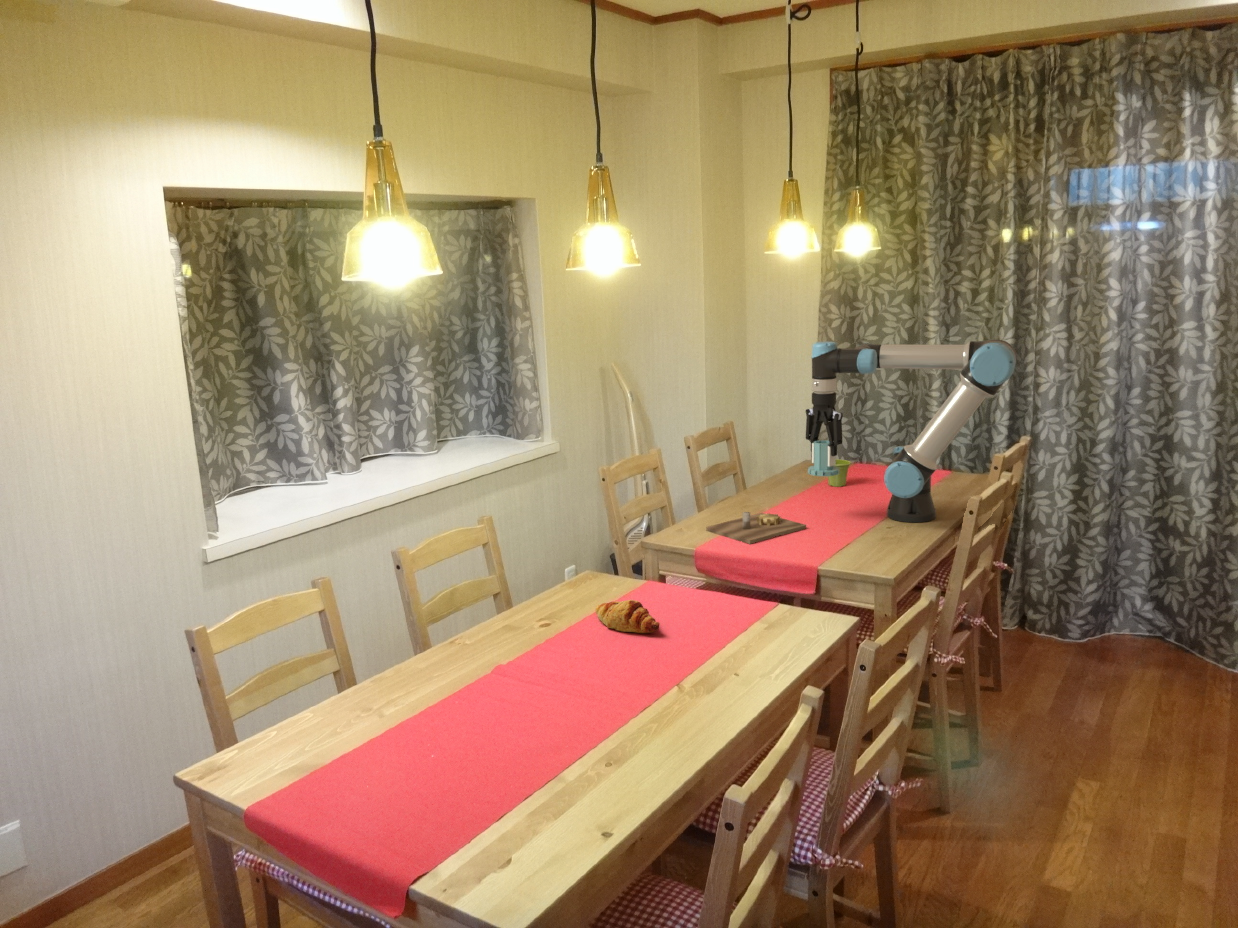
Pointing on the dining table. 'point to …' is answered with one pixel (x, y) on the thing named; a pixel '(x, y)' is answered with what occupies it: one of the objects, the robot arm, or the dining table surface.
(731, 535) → the carrier board
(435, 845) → the dining table surface
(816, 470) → the gear
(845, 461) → the plant pot
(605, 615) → the croissant
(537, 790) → the dining table surface
